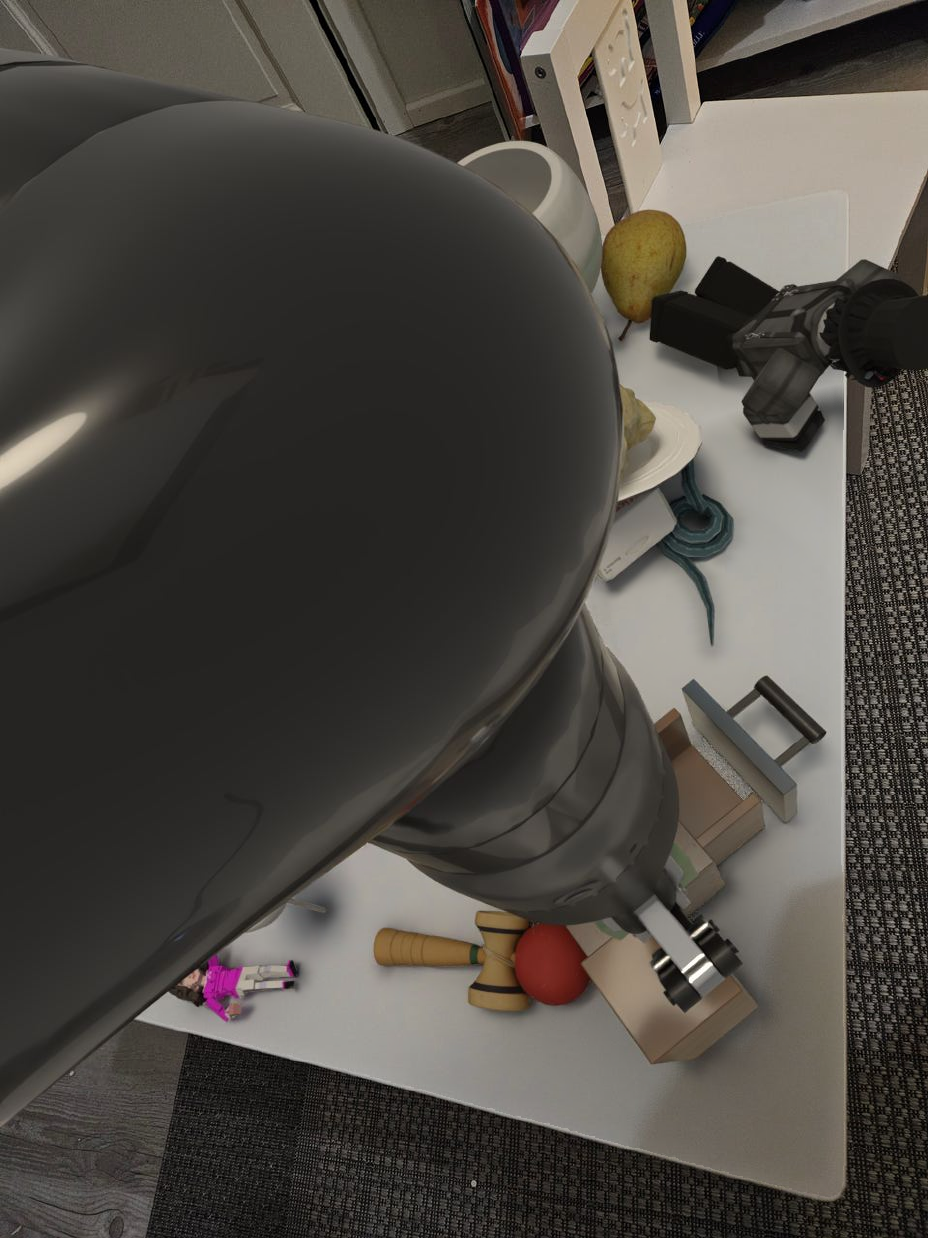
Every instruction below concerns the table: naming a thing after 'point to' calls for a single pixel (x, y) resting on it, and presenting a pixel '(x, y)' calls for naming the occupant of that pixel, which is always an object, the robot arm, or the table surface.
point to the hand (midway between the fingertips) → (625, 865)
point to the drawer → (705, 793)
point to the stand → (662, 1002)
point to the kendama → (499, 960)
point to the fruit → (642, 262)
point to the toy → (796, 338)
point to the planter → (546, 197)
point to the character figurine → (230, 984)
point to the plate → (660, 451)
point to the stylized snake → (697, 535)
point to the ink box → (635, 531)
